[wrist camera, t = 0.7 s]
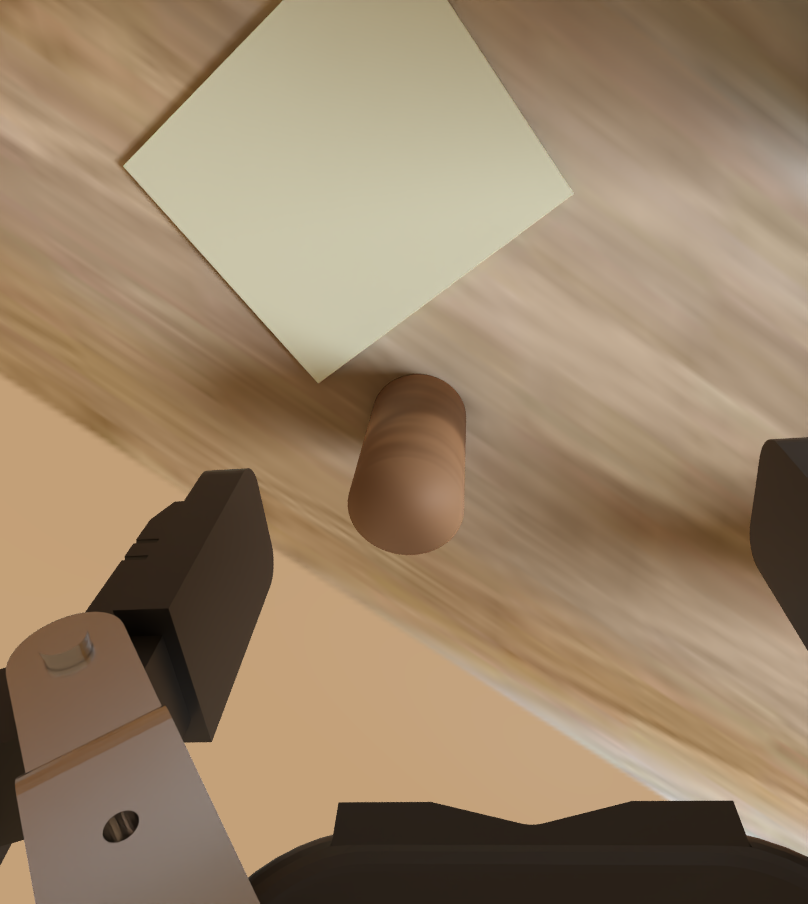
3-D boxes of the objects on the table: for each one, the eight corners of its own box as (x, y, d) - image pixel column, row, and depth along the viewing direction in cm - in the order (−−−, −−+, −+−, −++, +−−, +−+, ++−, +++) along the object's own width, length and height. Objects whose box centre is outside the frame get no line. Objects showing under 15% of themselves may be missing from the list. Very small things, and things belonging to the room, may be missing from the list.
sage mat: (382, -100, 28) (381, -102, 28) (573, 192, 33) (573, 193, 33) (126, 164, 34) (123, 166, 34) (319, 380, 39) (318, 383, 39)
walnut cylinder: (427, 356, 38) (415, 436, 30) (484, 426, 40) (487, 519, 32) (353, 408, 40) (323, 496, 32) (411, 473, 41) (396, 572, 34)
